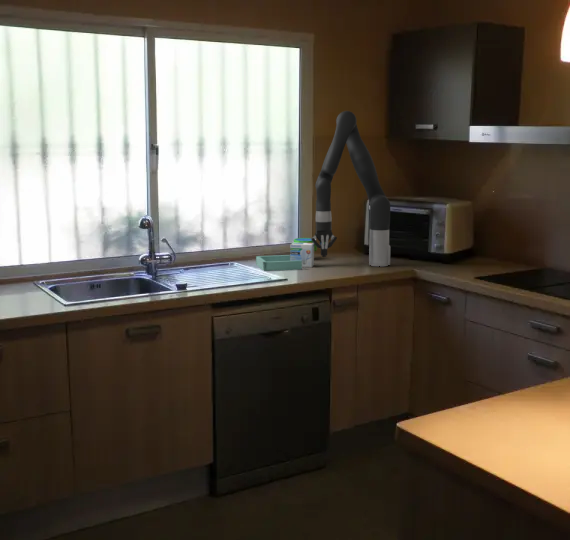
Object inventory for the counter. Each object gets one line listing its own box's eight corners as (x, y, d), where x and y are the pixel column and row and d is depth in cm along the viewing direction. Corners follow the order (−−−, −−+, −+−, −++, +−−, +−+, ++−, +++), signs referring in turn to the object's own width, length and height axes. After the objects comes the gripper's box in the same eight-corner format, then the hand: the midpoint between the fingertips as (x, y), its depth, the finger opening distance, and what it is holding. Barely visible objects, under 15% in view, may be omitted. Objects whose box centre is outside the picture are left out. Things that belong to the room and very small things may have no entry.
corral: (292, 262, 367) (292, 254, 366) (301, 269, 350) (301, 260, 349) (255, 264, 363) (255, 256, 362) (263, 270, 346) (263, 262, 345)
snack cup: (298, 262, 369) (298, 241, 367) (285, 259, 377) (285, 239, 375) (323, 259, 378) (323, 239, 376) (309, 256, 386) (310, 236, 384)
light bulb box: (289, 266, 357) (289, 244, 355) (292, 264, 363) (292, 242, 361) (312, 267, 355) (312, 244, 353) (314, 265, 361) (314, 242, 359)
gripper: (334, 219, 363) (335, 254, 366) (308, 220, 360) (308, 256, 363) (339, 220, 355) (339, 257, 358) (312, 222, 352) (312, 258, 355)
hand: (324, 256), depth 361 cm, fingers closed
